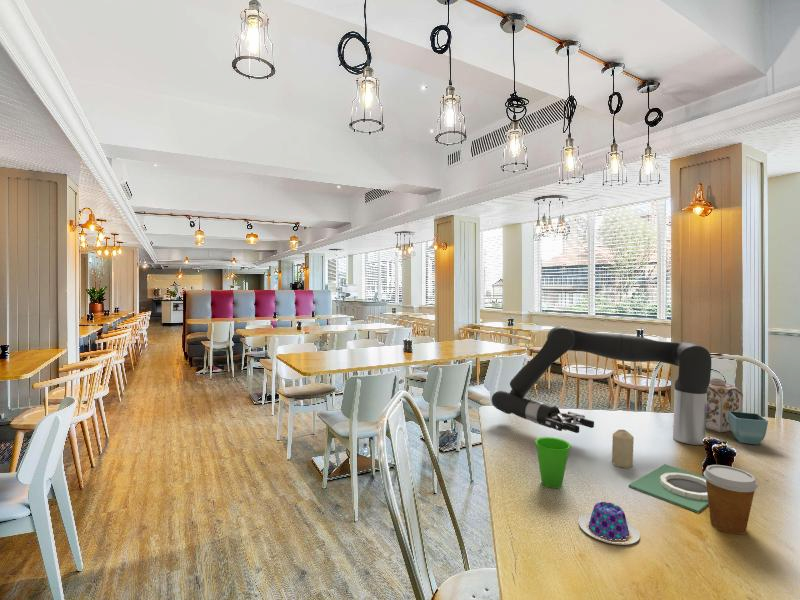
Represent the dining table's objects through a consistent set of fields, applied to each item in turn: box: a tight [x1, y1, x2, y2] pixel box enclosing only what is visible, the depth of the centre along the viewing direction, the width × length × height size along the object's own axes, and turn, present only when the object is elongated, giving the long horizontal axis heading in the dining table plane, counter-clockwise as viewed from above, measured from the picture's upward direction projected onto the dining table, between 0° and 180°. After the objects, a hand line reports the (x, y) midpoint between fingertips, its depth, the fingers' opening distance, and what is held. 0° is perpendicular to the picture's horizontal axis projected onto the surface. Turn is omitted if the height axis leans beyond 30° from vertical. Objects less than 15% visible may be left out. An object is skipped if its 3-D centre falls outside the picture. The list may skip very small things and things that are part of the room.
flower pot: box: [728, 411, 769, 446], centre depth 147 cm, size 9×9×9 cm
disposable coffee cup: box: [703, 464, 759, 535], centre depth 95 cm, size 10×10×12 cm
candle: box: [611, 429, 634, 469], centre depth 128 cm, size 6×6×10 cm
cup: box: [534, 436, 572, 489], centre depth 115 cm, size 9×9×11 cm
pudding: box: [578, 501, 641, 546], centre depth 94 cm, size 12×12×5 cm
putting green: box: [628, 463, 709, 514], centre depth 114 cm, size 22×16×2 cm
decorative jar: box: [706, 377, 744, 433], centre depth 162 cm, size 12×12×18 cm
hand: (586, 427), depth 137 cm, fingers open, 8 cm apart
